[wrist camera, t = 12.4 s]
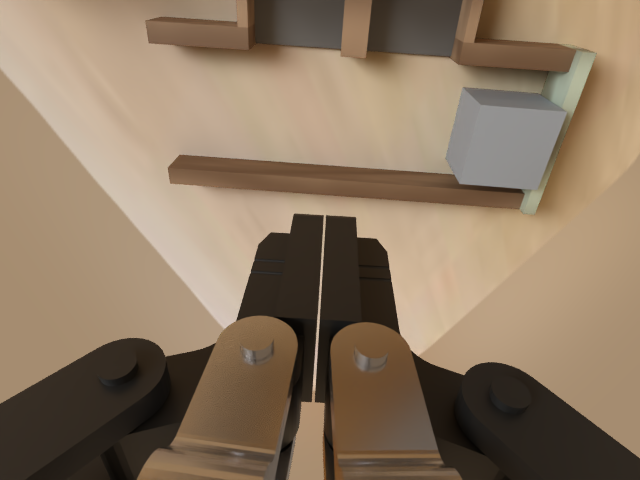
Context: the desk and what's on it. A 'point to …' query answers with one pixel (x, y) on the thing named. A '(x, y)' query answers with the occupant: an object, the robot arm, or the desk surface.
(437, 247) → the desk surface
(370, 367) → the robot arm
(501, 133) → the slate block
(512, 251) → the desk surface
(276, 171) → the box
